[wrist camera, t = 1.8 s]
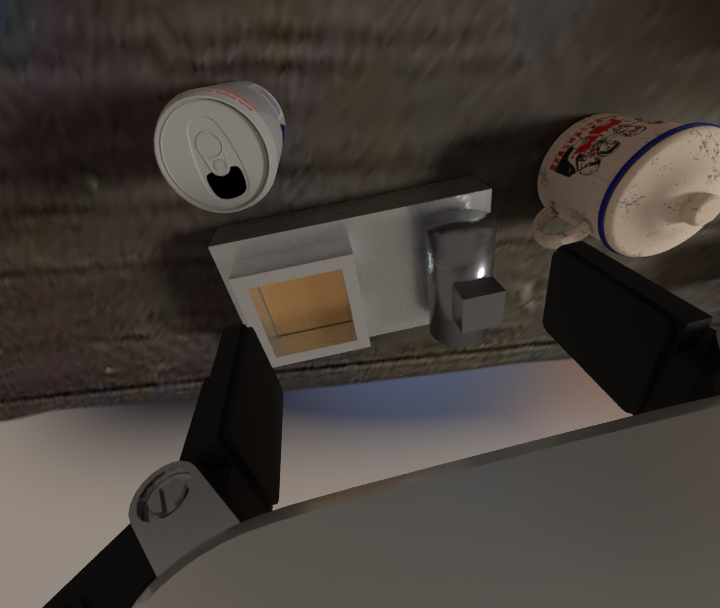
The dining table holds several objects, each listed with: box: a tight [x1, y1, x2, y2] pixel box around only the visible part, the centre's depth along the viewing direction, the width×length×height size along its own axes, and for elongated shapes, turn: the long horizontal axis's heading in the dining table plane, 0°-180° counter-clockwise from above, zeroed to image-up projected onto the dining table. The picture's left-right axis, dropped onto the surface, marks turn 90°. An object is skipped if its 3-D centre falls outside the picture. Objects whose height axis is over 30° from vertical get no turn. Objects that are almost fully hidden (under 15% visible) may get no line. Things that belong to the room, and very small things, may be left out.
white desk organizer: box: [208, 176, 506, 368], centre depth 28 cm, size 22×12×11 cm, turn 99°
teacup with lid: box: [531, 113, 720, 257], centre depth 26 cm, size 12×9×12 cm
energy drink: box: [154, 81, 286, 213], centre depth 20 cm, size 5×5×12 cm
